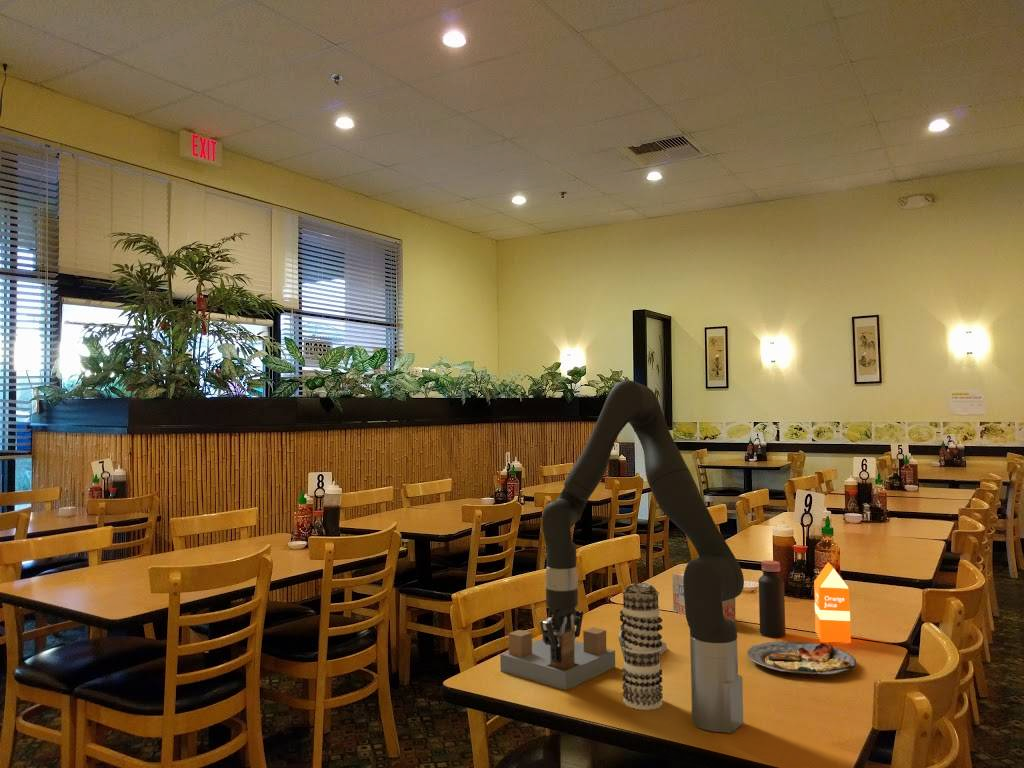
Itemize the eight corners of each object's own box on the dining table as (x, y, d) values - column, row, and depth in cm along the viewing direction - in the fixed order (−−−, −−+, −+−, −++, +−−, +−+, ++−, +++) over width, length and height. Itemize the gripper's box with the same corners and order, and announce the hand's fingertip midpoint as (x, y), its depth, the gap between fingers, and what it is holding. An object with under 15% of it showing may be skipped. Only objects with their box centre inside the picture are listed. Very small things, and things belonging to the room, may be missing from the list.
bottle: (782, 631, 212) (780, 559, 213) (788, 638, 205) (786, 564, 206) (757, 630, 212) (755, 559, 213) (763, 637, 206) (761, 564, 206)
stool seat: (615, 666, 184) (614, 630, 184) (565, 690, 169) (565, 650, 169) (551, 650, 197) (551, 616, 198) (500, 670, 182) (500, 633, 183)
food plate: (848, 652, 192) (847, 638, 193) (865, 685, 170) (864, 669, 170) (746, 647, 199) (746, 634, 199) (750, 679, 177) (749, 664, 177)
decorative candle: (612, 702, 162) (610, 585, 162) (637, 691, 168) (635, 578, 169) (647, 714, 155) (645, 592, 156) (672, 701, 162) (670, 585, 162)
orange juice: (820, 642, 201) (818, 567, 202) (815, 632, 210) (813, 560, 211) (851, 643, 200) (849, 568, 200) (845, 634, 208) (842, 561, 209)
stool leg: (574, 668, 174) (574, 629, 175) (564, 673, 171) (563, 633, 172) (561, 664, 177) (560, 626, 177) (550, 669, 174) (549, 630, 174)
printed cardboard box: (736, 626, 217) (735, 583, 218) (719, 629, 215) (718, 586, 215) (688, 609, 237) (687, 570, 237) (672, 612, 234) (671, 572, 234)
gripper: (555, 593, 167) (556, 671, 167) (592, 582, 178) (593, 655, 177) (529, 588, 172) (530, 664, 172) (567, 577, 183) (568, 649, 182)
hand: (562, 659), depth 174 cm, fingers closed on stool leg, 4 cm apart
